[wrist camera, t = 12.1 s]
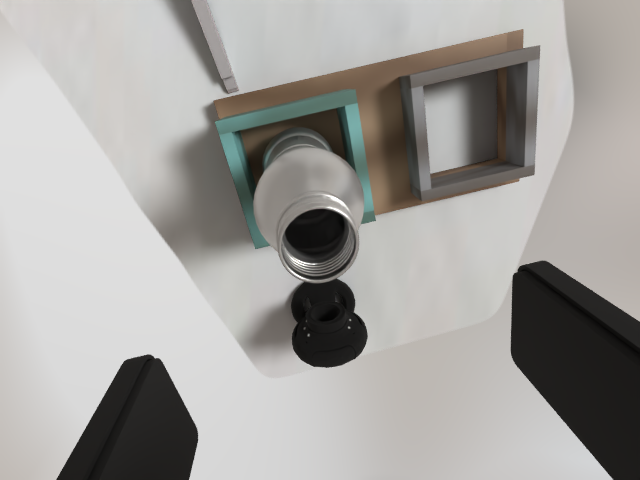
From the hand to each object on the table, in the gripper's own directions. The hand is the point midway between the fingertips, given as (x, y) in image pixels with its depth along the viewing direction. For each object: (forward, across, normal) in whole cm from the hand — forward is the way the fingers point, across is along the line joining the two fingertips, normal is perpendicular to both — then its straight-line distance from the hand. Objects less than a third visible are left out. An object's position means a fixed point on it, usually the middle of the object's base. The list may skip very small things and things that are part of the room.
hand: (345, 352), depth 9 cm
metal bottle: (+27, 0, 0) cm, 27 cm away
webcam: (+28, +1, +17) cm, 33 cm away
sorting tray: (+28, -8, 0) cm, 29 cm away
